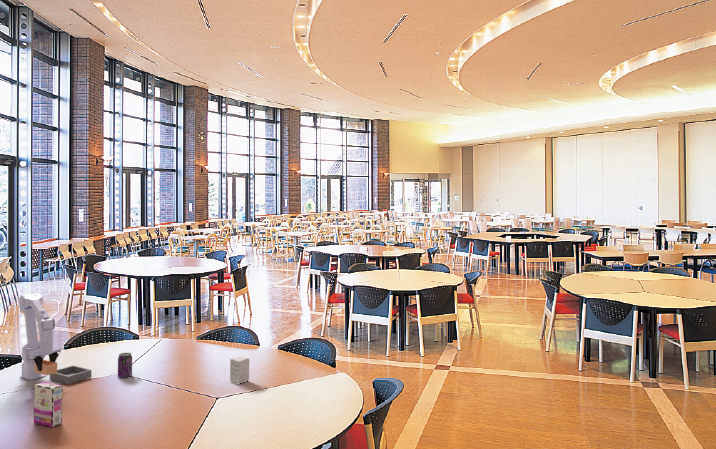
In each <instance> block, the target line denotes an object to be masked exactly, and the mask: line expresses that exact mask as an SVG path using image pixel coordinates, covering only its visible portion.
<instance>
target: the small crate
mask: <svg viewBox="0 0 716 449" xmlns="http://www.w3.org/2000/svg"><path fill="white" fill-rule="evenodd" d="M57 370H58V362H56V361H55V362H52V361H50V360H47V359H43V362H42V371H38V369H37V365H36V363H35V369H34V372H36V373H39V374H42V375H45V377H46V376H50V374H54V373H57Z"/></svg>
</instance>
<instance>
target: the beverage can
mask: <svg viewBox="0 0 716 449" xmlns="http://www.w3.org/2000/svg"><path fill="white" fill-rule="evenodd" d="M132 375H133V355H132V353H131V352H121V353H118V357H117V377H119V378H123V379H124V378H129V377H130V376H132Z"/></svg>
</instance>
